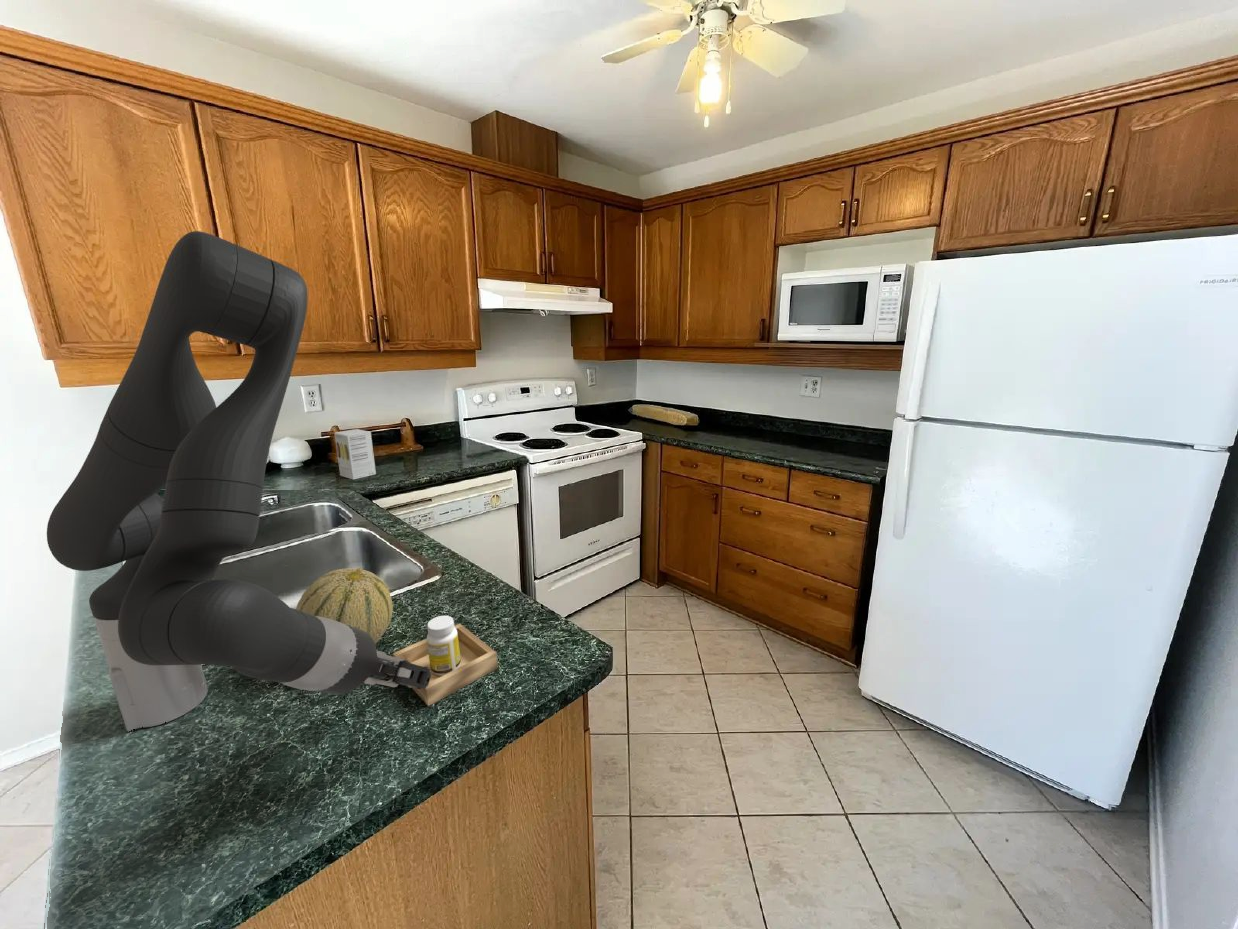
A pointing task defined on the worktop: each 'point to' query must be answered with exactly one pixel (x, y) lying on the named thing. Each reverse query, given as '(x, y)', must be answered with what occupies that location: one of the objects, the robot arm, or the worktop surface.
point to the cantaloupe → (350, 600)
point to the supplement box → (355, 453)
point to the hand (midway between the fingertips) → (400, 675)
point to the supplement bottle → (443, 645)
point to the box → (473, 666)
